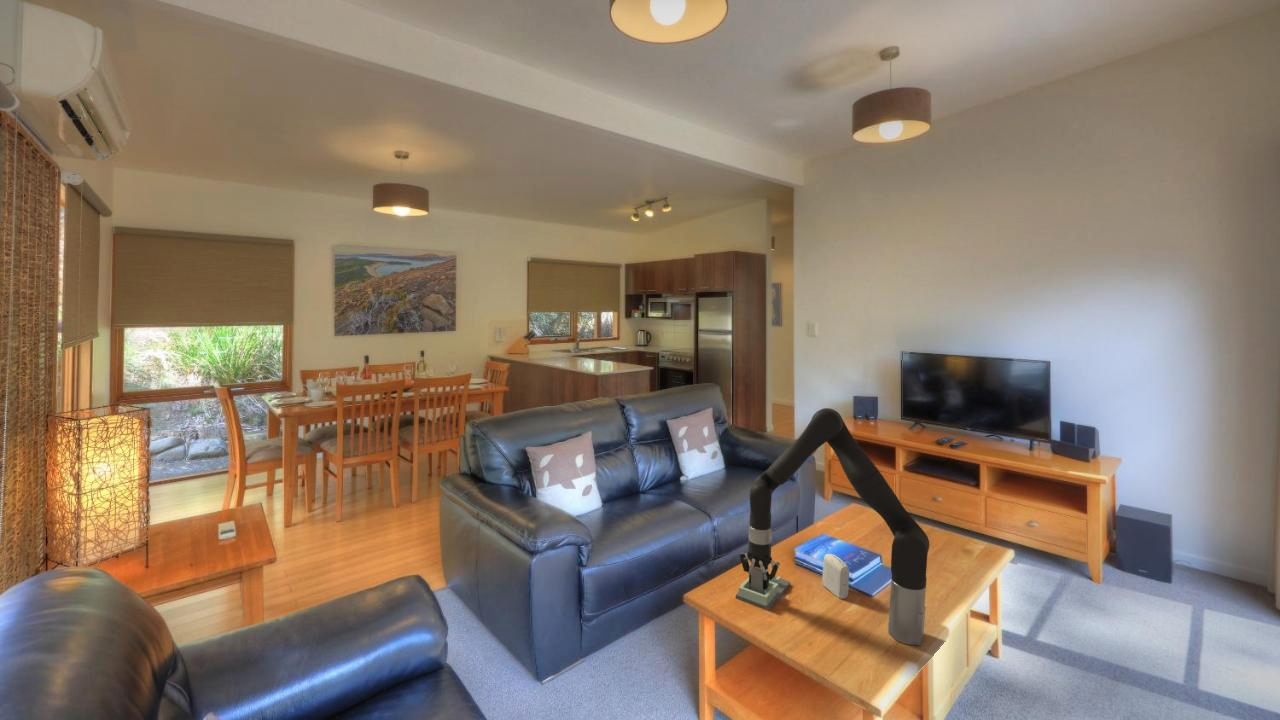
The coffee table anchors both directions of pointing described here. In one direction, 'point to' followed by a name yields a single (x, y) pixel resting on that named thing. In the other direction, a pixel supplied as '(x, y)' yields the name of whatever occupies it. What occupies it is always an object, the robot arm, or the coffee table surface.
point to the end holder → (757, 596)
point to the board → (781, 589)
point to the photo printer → (835, 576)
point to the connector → (757, 580)
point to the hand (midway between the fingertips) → (758, 586)
